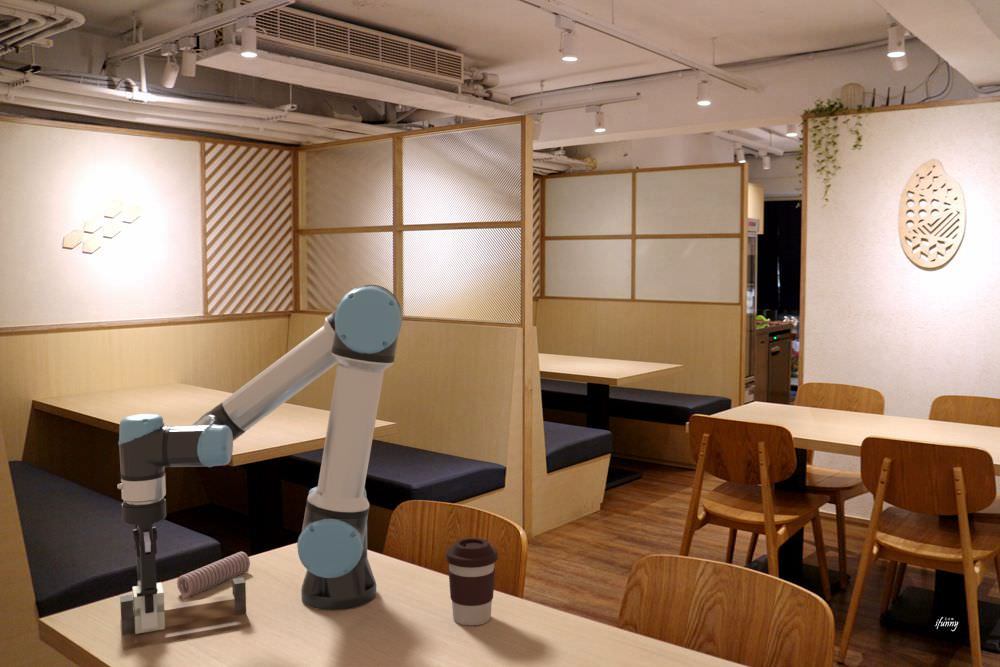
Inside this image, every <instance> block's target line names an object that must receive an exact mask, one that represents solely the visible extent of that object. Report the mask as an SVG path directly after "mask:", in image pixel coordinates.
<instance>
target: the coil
mask: <svg viewBox="0 0 1000 667" xmlns="http://www.w3.org/2000/svg"><path fill="white" fill-rule="evenodd" d="M250 566H251V561H250V557H249V556H248V554H247V553H246V552H244V551H239V552H236V553H234V554H231V555H229V556H226V557H224V558H222V559H219V560H217V561H214V562H212V563H210V564H207V565H205V566H202V567H199V568H196V569H195V570H192V571H190V572H187V573H185V574H182V575H180V576H179V577H178V578H177V581H176V584H177V585H176V586H177V589H178V591H179V593H180V594H181V596H180V598H182V599H188V598H190V597H193V596H194V595H197V594H200V593H201V592H204V591H205V590H206V591H207V590H208V589H210V588H212V587H215V586H217V585H220V584H222V583H225V582H226V581H229V580H231V579H234V578H235V577H236V578H237V577H238V576H240V575H243V574H245V573H247V572H249V569H250Z"/></svg>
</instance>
